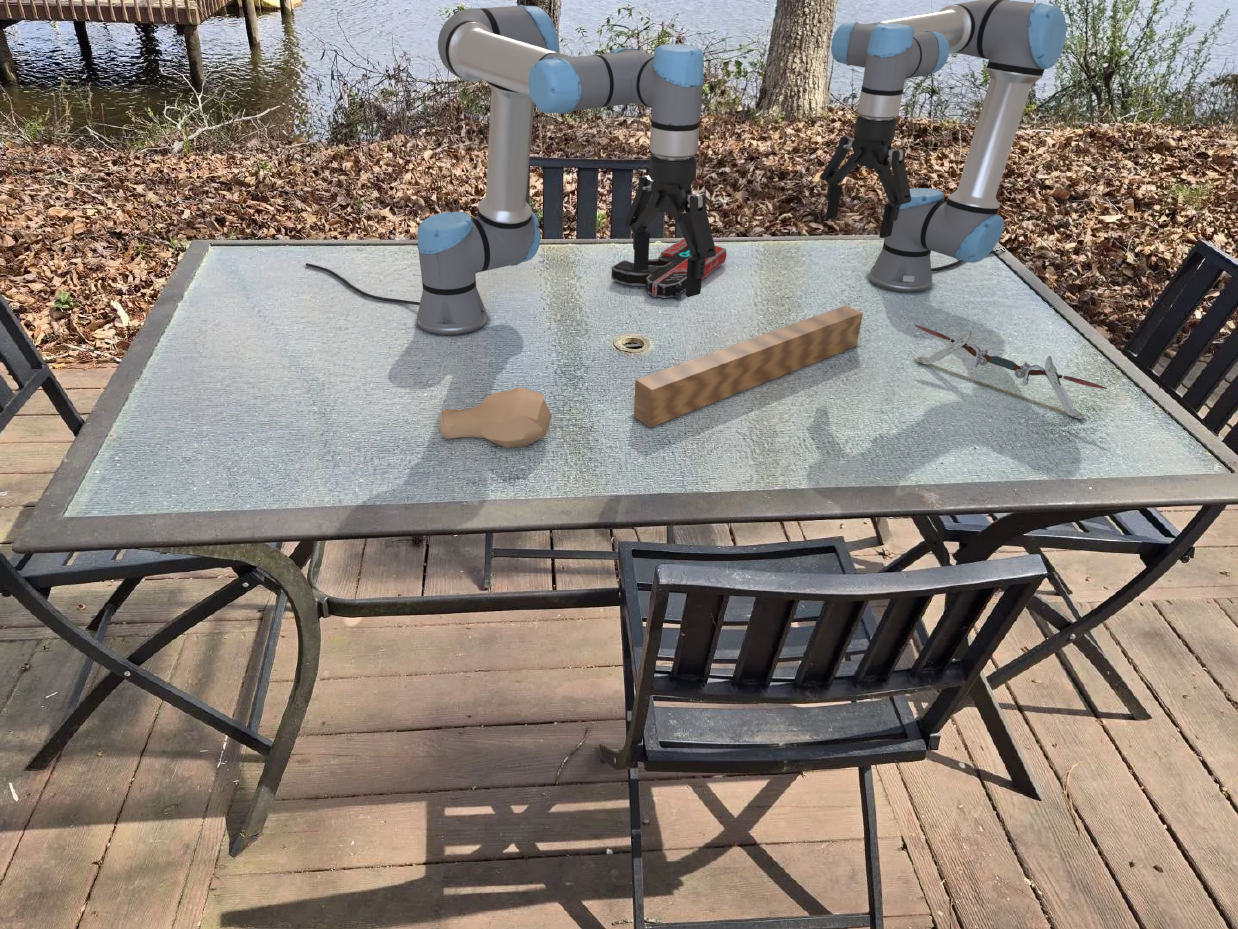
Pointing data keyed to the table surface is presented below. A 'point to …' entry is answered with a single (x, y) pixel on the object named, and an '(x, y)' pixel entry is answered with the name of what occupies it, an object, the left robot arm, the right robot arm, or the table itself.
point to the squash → (501, 419)
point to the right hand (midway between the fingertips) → (857, 227)
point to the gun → (665, 271)
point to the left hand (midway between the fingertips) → (666, 282)
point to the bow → (1020, 371)
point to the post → (744, 365)
